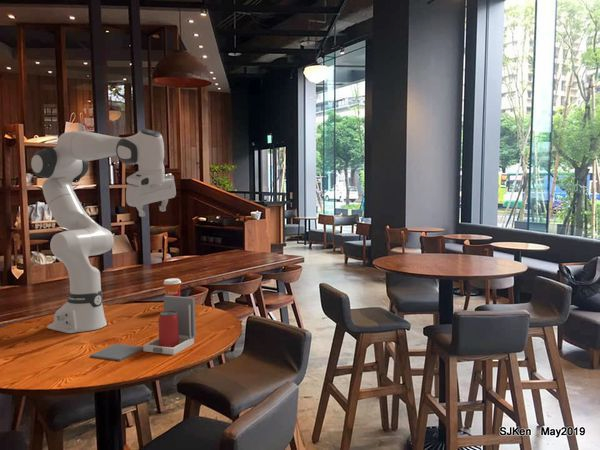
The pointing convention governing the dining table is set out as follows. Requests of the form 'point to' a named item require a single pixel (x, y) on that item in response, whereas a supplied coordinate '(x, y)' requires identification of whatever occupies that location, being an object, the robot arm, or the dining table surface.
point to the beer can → (168, 329)
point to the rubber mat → (117, 352)
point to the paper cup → (172, 287)
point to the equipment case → (185, 323)
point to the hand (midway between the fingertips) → (152, 213)
